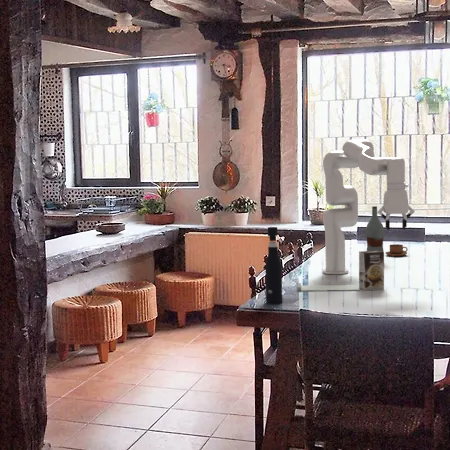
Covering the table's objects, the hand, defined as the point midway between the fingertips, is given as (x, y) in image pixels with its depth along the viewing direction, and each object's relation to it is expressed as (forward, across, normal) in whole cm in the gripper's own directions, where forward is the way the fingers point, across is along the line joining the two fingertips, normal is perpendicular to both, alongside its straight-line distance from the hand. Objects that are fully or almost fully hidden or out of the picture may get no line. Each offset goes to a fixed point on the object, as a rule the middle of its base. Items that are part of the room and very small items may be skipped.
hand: (396, 229), depth 297 cm
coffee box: (+26, +10, 0) cm, 28 cm away
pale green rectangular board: (+26, +29, 0) cm, 39 cm away
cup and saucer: (+26, -15, -97) cm, 101 cm away
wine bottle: (+26, +52, +27) cm, 64 cm away
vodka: (+26, 0, -72) cm, 76 cm away
